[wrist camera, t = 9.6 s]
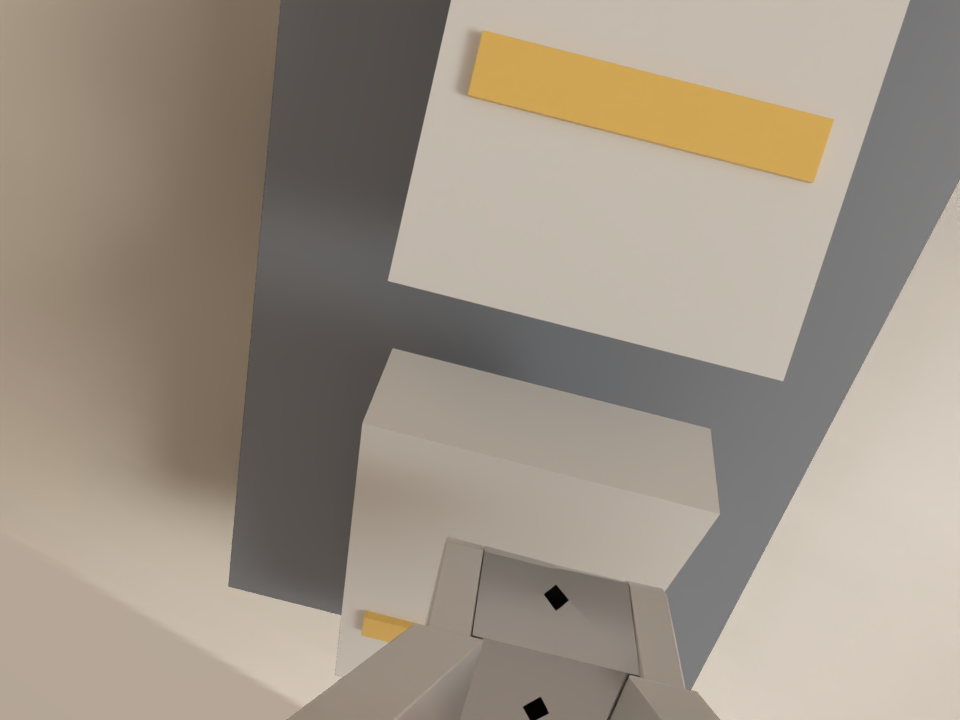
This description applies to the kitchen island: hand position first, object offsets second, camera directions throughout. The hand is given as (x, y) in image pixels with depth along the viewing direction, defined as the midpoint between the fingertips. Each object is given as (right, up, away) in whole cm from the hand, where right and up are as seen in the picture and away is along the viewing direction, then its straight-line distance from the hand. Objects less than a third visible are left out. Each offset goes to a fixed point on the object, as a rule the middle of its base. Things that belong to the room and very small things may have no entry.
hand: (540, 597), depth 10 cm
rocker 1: (+2, +8, 0) cm, 8 cm away
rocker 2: (-1, -1, +5) cm, 5 cm away
